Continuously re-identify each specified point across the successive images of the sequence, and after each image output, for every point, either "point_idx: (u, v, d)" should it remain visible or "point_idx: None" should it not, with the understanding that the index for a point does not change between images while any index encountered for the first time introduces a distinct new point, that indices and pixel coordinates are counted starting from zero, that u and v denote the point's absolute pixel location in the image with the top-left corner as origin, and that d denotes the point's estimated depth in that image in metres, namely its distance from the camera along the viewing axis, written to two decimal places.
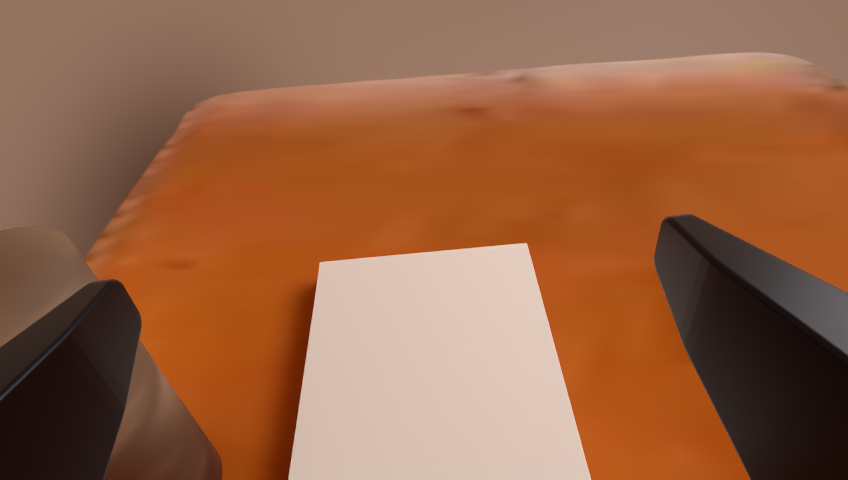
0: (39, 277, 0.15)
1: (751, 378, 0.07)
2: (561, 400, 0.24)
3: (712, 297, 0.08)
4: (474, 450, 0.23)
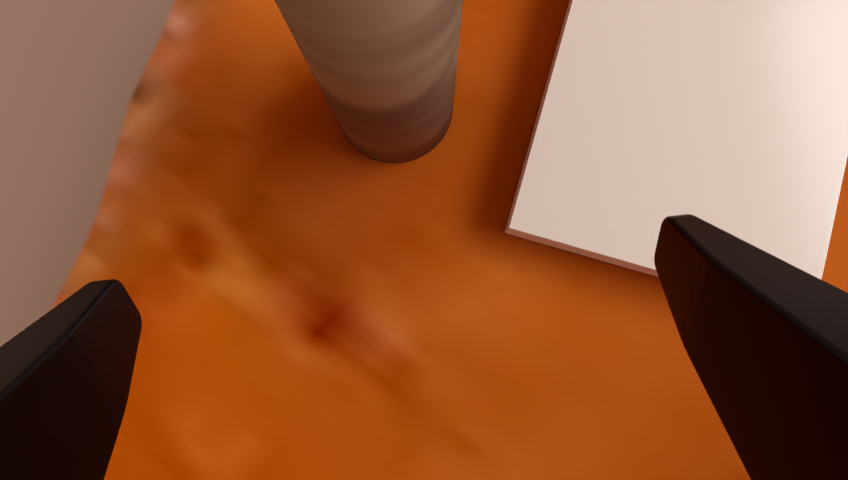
0: None
1: (751, 378, 0.07)
2: (835, 170, 0.22)
3: (712, 297, 0.08)
4: (723, 189, 0.22)
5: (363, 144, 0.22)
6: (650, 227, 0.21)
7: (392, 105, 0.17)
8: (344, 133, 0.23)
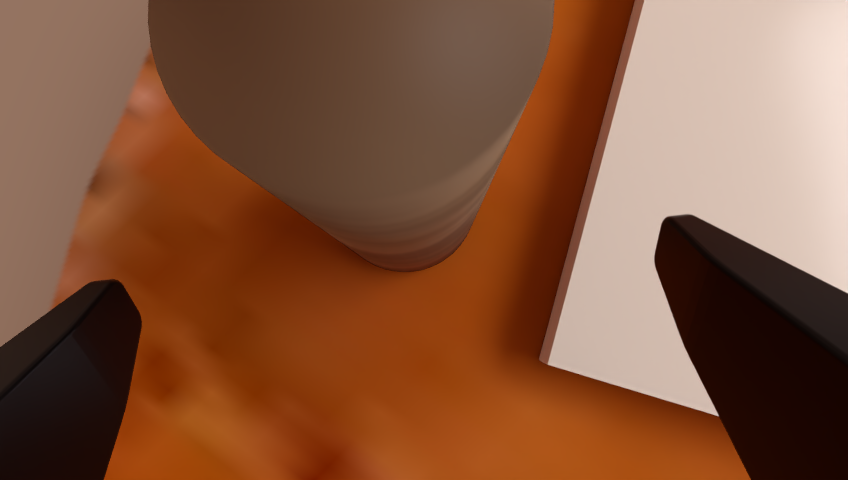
0: (487, 33, 0.07)
1: (751, 378, 0.07)
2: None
3: (712, 297, 0.08)
4: None
5: (367, 259, 0.18)
6: None
7: (407, 251, 0.13)
8: None
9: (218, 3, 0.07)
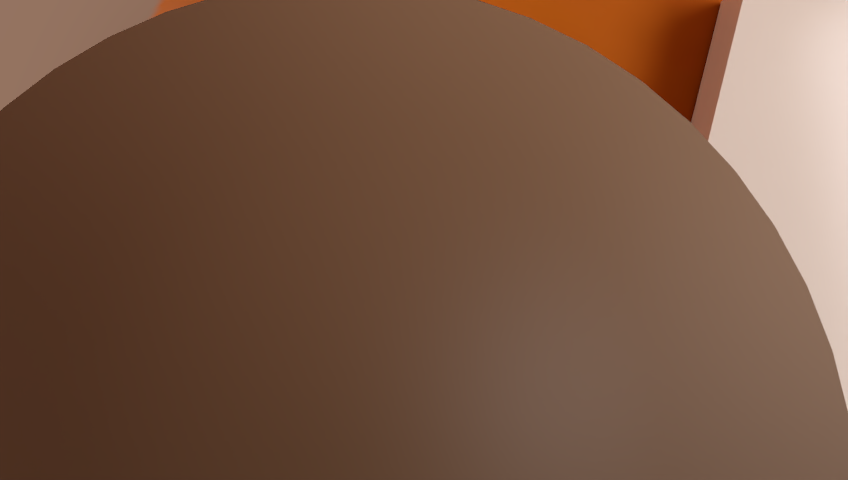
0: None
1: None
2: None
3: None
4: None
5: None
6: None
7: None
8: None
9: None
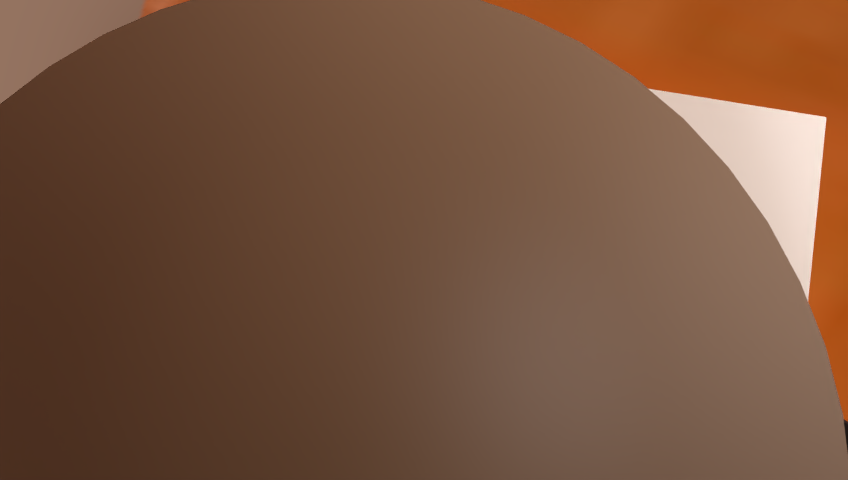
0: None
1: None
2: None
3: None
4: None
5: None
6: None
7: None
8: None
9: None
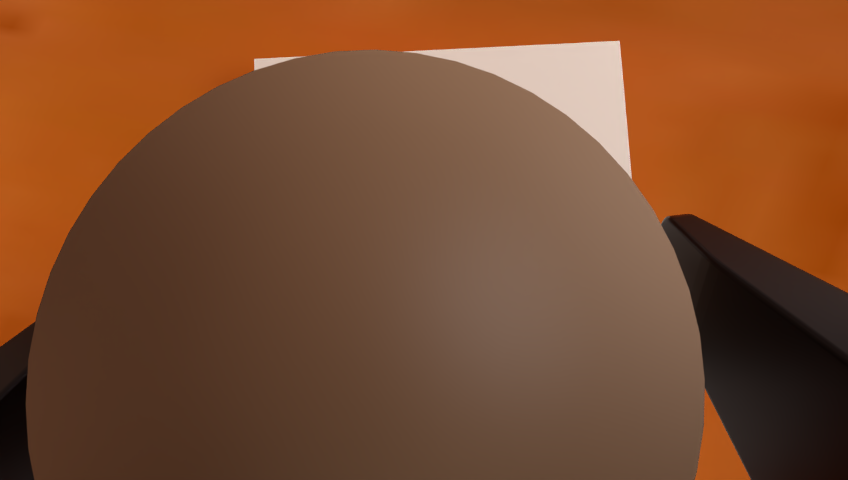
0: (593, 434, 0.04)
1: (751, 378, 0.07)
2: None
3: (712, 297, 0.08)
4: None
5: None
6: None
7: None
8: None
9: (144, 369, 0.04)
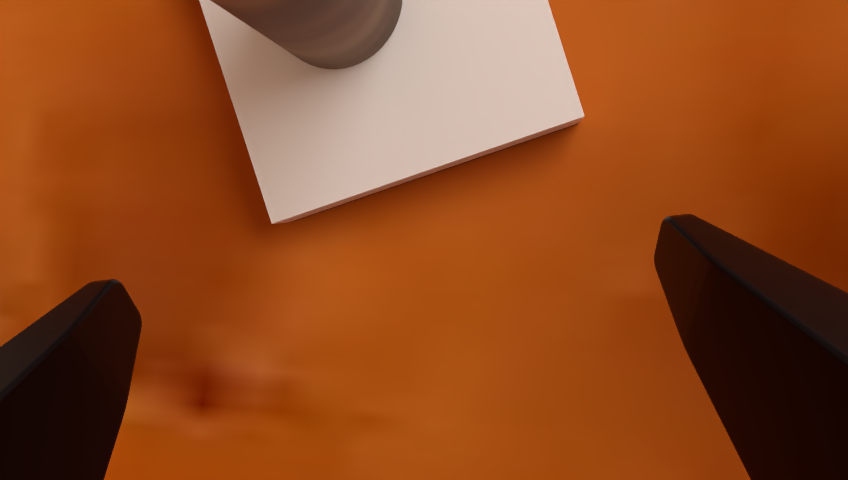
0: None
1: (751, 378, 0.07)
2: None
3: (712, 297, 0.08)
4: (430, 55, 0.19)
5: (304, 55, 0.18)
6: (387, 138, 0.20)
7: None
8: None
9: None
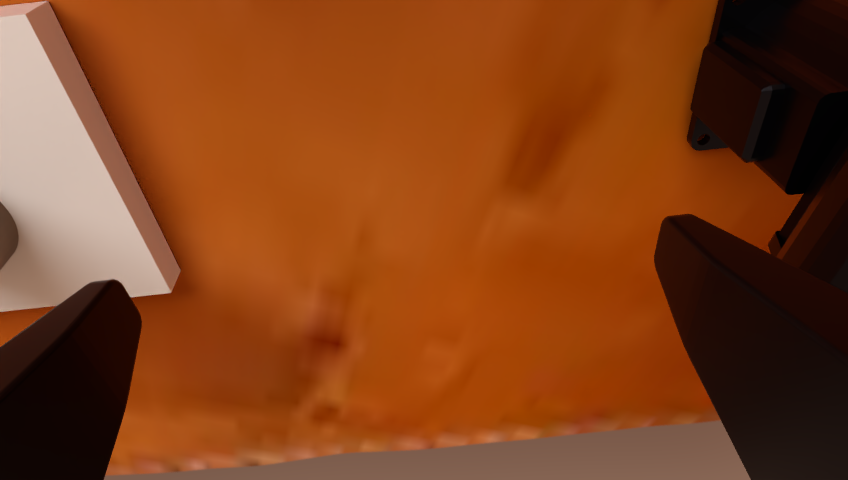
0: None
1: (751, 378, 0.07)
2: None
3: (712, 297, 0.08)
4: None
5: None
6: (79, 198, 0.21)
7: None
8: None
9: None
